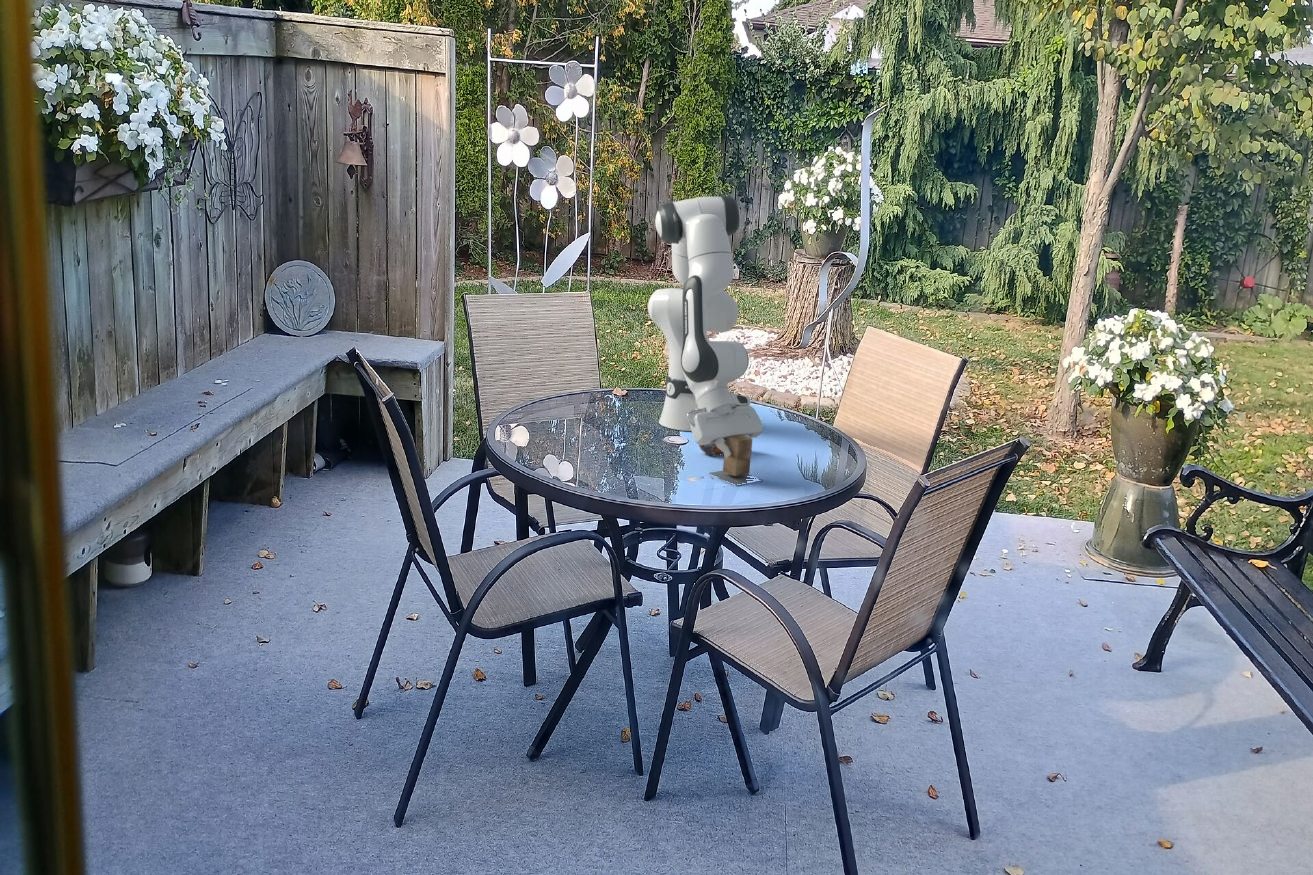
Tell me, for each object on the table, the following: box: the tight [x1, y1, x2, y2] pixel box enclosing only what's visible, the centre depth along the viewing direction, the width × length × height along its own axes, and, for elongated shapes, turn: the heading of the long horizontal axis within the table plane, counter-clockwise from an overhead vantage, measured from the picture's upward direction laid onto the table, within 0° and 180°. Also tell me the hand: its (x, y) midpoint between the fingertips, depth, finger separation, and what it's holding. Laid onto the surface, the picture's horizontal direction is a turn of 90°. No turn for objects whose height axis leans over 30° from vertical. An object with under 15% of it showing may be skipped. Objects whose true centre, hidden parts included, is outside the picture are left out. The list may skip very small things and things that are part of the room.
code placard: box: [686, 476, 701, 482], centre depth 269 cm, size 7×9×1 cm
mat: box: [708, 470, 756, 485], centre depth 274 cm, size 9×10×1 cm
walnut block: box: [722, 435, 753, 476], centre depth 273 cm, size 5×5×9 cm
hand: (739, 454), depth 272 cm, fingers closed on walnut block, 5 cm apart
